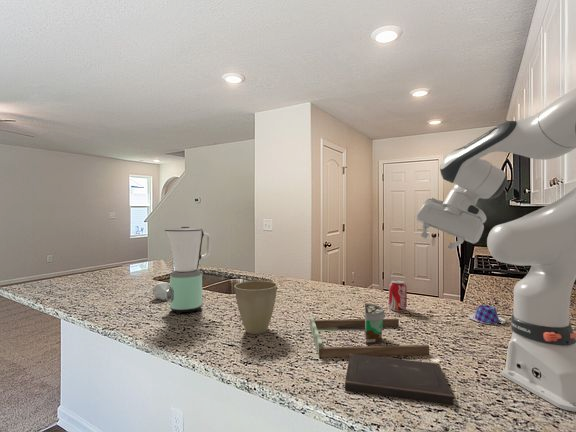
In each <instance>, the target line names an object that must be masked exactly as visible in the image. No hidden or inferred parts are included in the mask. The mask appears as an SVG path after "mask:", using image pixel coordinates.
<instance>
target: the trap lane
mask: <svg viewBox="0 0 576 432" xmlns="http://www.w3.org/2000/svg"><path fill="white" fill-rule="evenodd" d="M399 324H400V323H399V318H383V324H382V328H384V327H388V328H389V327H399ZM309 330H310V333H311V336H312V339H313V343H314V345H315V348H316V352H317V356H318V358H349V356H350V354H355V355H364V356H374V357H394V356H397V357H398V356H430V345H429V344H408V345H407V344H405V345H404V344H403V345H401V344H400V345H366V346H365V345H362V346H361V345H360V346H358V345H357V346H355V345H354V346H323V341H322V339H321V335H320V333H319V332H338V331H339V332H343V331H347V332H348V331H351V332H352V331H365V318H358V319H355V318H354V319H353V318H352V319H349V318H348V319H346V318H345V319H314V316H313V315H310V316H309Z"/></svg>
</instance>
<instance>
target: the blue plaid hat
mask: <svg viewBox="0 0 576 432" xmlns="http://www.w3.org/2000/svg"><path fill="white" fill-rule="evenodd" d="M474 316H475V317H474ZM473 317H474V319H473ZM468 318H469V319H471V320H473V321H475V322H479V321H480V322H479V323H483V324H488V325H490V324H491V323H495V324H497V323H498V322H499V323H500V321H499V319H501V320H502V321H503V323H501V324H500V325H502V324H506V319H504V318H503V317H500V316H499V315H498V312H497V308H496V307H495V306H492V305H486V304H480V305H478V306H477V308H476V311H475V313H471V314H469V315H468Z"/></svg>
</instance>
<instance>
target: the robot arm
mask: <svg viewBox="0 0 576 432" xmlns="http://www.w3.org/2000/svg"><path fill="white" fill-rule="evenodd" d="M573 150H576V87H575V88H574V89H572V90H570V91H568V92H567V93H565V94H563V95H561V97H559V98H557V99H555V100H554V101H553V102H551V103H550V104H548V105H547V106H546V107H545V108H544V109H542V110H541V111H540V112H537V113H536V114H534V115H532V116H529V117H526V118H522V119H517V120H508V121H504V122H503V123H501V124H499V125H497V126H495V127H493V128H492V129H489V130H488V131H487V132H485V133H483V134H482V135H480V136H479V137H477V138H475V139H474V140H472V141H470V142H469V143H467V144H466V145H464V146H461V147H459V148H456V149H453V150H452V151H451V152H450V153H449V154H447V155H446V156H445V157H444V159H443V160H442V162H441V164H440V167H439V171H440V176H441V177H442V179H443V180H444V181H446V182H449V183H451V184H454V185H453V187H452V188H451V189H450V191H448V193H447V195H446V197H445V199H444V200H440V199H436V198H433V197H432V198H428V199H426V200H425V201H424V203H423V206H422V207H421V208H420V209H419V211H418V212H417V214H416V215H415V217H416V220H417V221H418V222H419V223H421V224H422V233H421V234H420V237H422V238H424V239H425V240H426V239H428V236H429V235H430V234H429V233H428V231H427V230H428V229H429V228H430V227H431V228H434V229H436V230H439V231H441V232H444V233H446V234H448V235H451V236H454V237H456V241H454V242H453V243H452V242H450V243H449V245H448V246H447V249H449V250H451V251H455V249H456V247H458V246H459V245H461V244H463V243H464V241H465V242H468V243H471V244H474V245H475V244H476V243H478V242H479V241H480V239H481V238H482V234H483V232H484V230H485V226H484V223H486V221H487V215H486V214H485V212H484V211H483V210H482V209H481V208H479V207H478V206H477V204H478V200H479V199H481V200H482V199H483V200H492V199H495V198H498V197H499V196H500V195H502V193H504V190H505V189H506V187H507V184H508V176H507V175H508V174H507V173H506V172H505V171H504V170H502V169H500V168H499V167H497V166H495V165H493V164H492V163H491V162H490V161H488V160H486V159H483V157H484V156H487V155H488V154H490V153H495V152H496V153H497V152H500V153H501V152H503V153H509V154H513V155H518V156H522V157H525V158H528V159H532V160H542V161H545V160H551V159H552V160H554V159H556V158H559V157H561V156H564V155H567V154H569V153H570V152H572V151H573ZM486 245H487V250H488V252H489V253H490V255H491V257H492V258H493V259H494V260H496V261H497V262H499V263H503V264H508V265H514V266H520V267H522V266H524V267H525V266H526V267H527V266H530V269H529V271H528V272H527V274H526V275H525V276H524V277H523V278H521V279H520V280H519V281H518V282H516V283H515V285H514V286H513V309H512V310H513V311H512V312H513V314H512V315H511V320H510V329H511V331H512V334H511V337H510V339H509V342H508V345H507V350H506V351H507V352H506V361H505V367H504V368H503V369H502V371H501V376H502V377H504V378H506V379H508V380H510V381H511V382H513V383H515V384H516V385H518V386H519V387H521V388H524V389H525V390H527V391H529V392H530V393H533V394H534V395H536V396H537V397H540V398H541V399H543V400H545V401H547V403H550V404H551V405H553V406H554V407H557V408H560V409H561V410H564V411H570V412H574V413H575V412H576V333H575V332H574V330H573V327H572V324H570V308H571V295H572V289H573V287H574V285H575V282H576V187H575V188H574V189H572V190H571V191H569V192H568V193H566V194H565V195H563V196H562V197H560V198H559V199H557V200H555V201H554V202H551V203H549V204H548V205H545V206H543V207H540V208H538V209H537V210H534V211H532V212H530V213H528V214H525V215H523V216H522V217H519V218H516V219H514V220H510V221H507V222H504V223H500V224H497V225H494V226H493V227H492V228H491V229H490V231H489V233H488V236H487V238H486Z"/></svg>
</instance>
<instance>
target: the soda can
mask: <svg viewBox="0 0 576 432" xmlns="http://www.w3.org/2000/svg"><path fill="white" fill-rule="evenodd" d="M407 288H408V287H407V284H406V281H405V280H402V279H391V280H390V283H389V286H388V308H389V309H390V310H392V311H394V312H397V313H398V312H404V311H406V310H407V306H408V305H407V303H408V302H407V298H408V296H407V295H408V293H407V290H408V289H407Z"/></svg>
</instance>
